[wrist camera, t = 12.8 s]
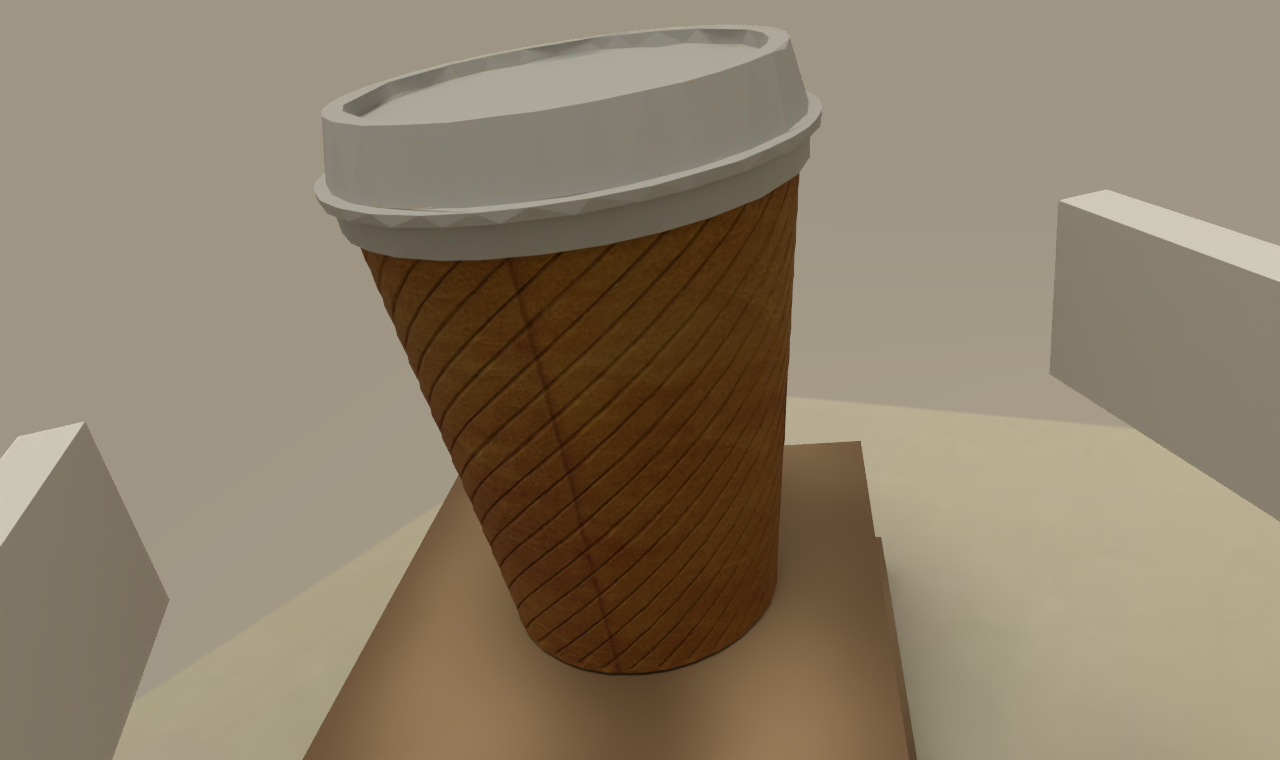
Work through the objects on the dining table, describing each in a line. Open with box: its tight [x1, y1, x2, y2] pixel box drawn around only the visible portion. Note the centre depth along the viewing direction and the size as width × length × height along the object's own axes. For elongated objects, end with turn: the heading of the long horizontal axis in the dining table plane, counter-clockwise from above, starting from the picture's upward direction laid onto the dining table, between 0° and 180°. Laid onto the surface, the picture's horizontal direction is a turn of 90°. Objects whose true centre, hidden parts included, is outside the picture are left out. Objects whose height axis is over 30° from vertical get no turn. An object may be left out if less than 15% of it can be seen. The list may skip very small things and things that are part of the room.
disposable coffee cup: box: [314, 24, 822, 673], centre depth 20 cm, size 10×10×12 cm
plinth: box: [303, 441, 917, 760], centre depth 24 cm, size 13×13×5 cm
